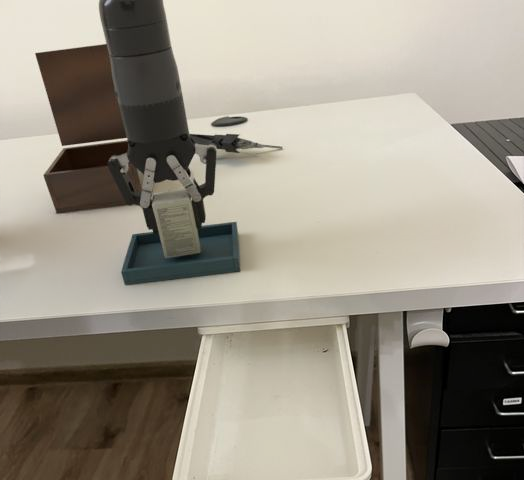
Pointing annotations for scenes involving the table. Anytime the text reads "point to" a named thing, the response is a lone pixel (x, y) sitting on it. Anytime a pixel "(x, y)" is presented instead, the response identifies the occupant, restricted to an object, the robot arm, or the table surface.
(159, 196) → the small box
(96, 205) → the chest
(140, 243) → the tray
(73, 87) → the lid
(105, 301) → the table surface
